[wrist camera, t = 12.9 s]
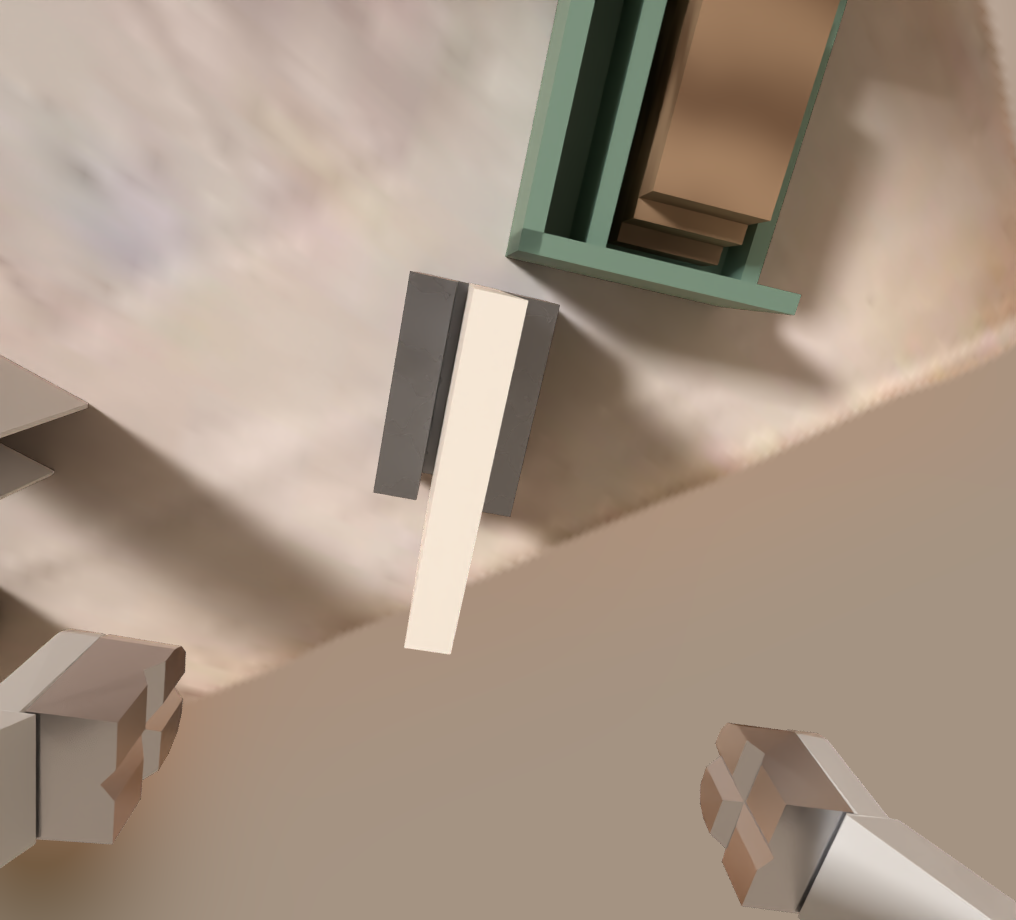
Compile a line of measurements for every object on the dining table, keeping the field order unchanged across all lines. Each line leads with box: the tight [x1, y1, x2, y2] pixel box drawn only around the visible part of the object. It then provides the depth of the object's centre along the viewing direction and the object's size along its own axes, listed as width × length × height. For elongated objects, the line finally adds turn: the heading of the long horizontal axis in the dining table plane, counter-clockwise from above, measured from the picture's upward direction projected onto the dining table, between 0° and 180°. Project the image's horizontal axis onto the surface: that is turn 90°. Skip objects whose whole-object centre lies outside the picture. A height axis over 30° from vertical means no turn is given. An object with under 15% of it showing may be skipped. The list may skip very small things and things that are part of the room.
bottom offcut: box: [608, 0, 723, 266], centre depth 33 cm, size 14×6×2 cm, turn 168°
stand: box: [374, 271, 560, 517], centre depth 35 cm, size 12×8×6 cm, turn 168°
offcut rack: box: [505, 0, 847, 315], centre depth 31 cm, size 18×14×9 cm
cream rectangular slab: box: [404, 283, 528, 654], centre depth 28 cm, size 12×2×19 cm, turn 168°
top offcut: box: [639, 0, 840, 225], centre depth 28 cm, size 10×6×2 cm, turn 168°
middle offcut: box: [622, 0, 748, 247], centre depth 31 cm, size 12×6×2 cm, turn 168°
